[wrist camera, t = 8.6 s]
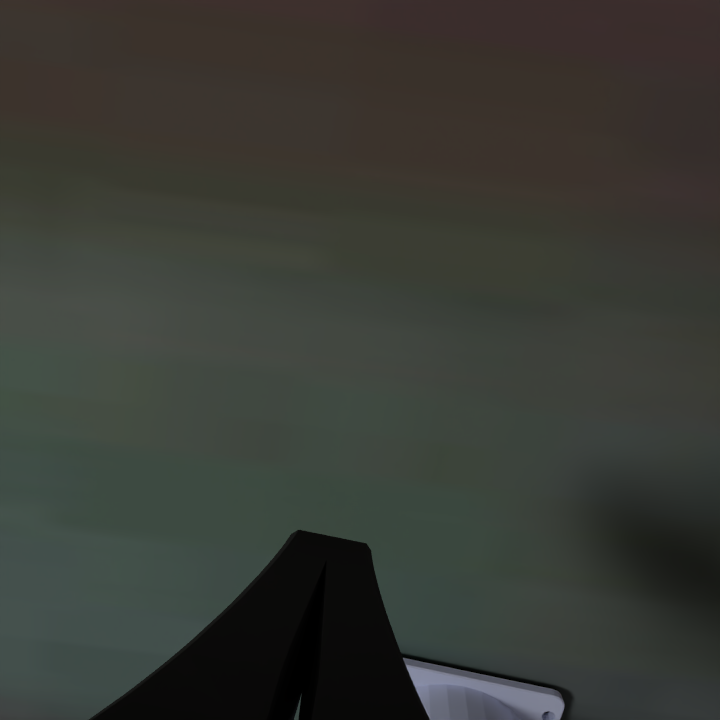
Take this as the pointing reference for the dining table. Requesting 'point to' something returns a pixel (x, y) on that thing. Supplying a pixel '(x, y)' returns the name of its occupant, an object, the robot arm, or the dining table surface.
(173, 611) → the dining table surface
